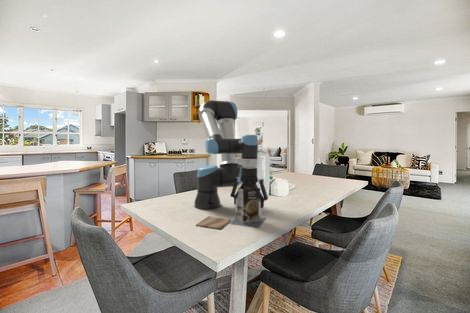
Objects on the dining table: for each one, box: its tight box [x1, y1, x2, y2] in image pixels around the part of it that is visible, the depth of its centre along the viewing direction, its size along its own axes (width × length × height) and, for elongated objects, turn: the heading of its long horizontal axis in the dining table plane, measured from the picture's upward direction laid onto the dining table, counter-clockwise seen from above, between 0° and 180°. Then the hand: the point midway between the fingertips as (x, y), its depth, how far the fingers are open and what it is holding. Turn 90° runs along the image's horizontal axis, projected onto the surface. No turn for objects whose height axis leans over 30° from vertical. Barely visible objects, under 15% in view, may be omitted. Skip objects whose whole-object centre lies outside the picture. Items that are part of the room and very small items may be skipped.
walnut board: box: [195, 216, 232, 231], centre depth 109 cm, size 12×12×1 cm
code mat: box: [229, 216, 267, 229], centre depth 112 cm, size 14×14×1 cm
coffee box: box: [236, 186, 261, 224], centre depth 111 cm, size 9×6×16 cm
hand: (248, 212), depth 112 cm, fingers open, 11 cm apart
